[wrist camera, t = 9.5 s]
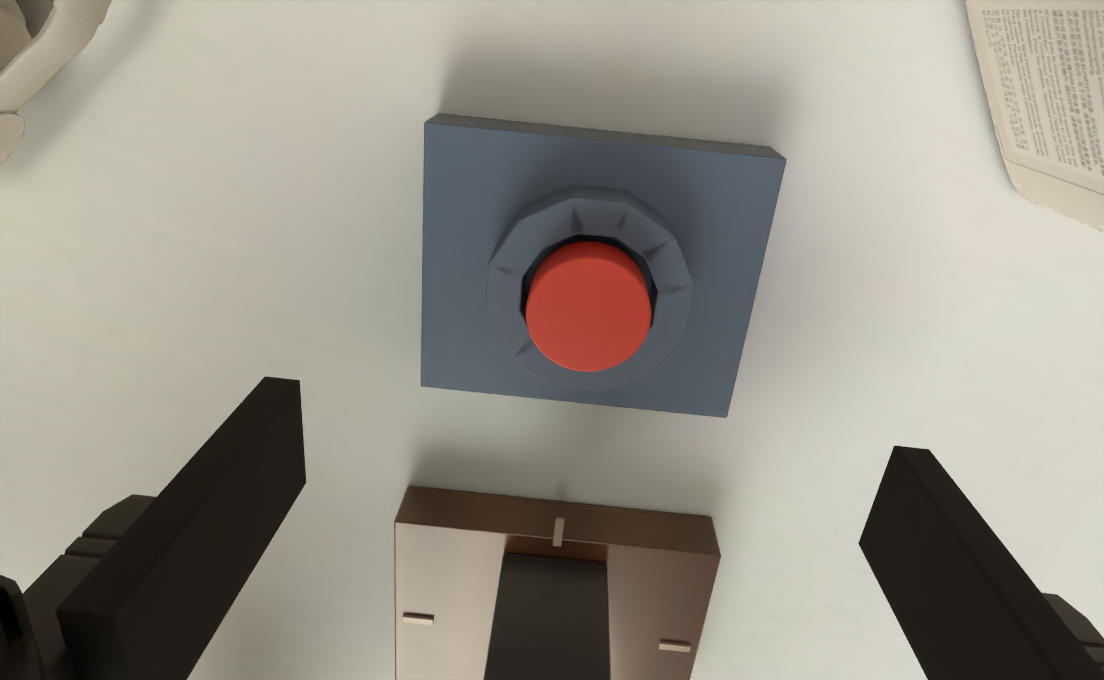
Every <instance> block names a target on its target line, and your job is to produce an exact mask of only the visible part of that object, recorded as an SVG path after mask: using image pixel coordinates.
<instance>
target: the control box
mask: <svg viewBox="0 0 1104 680" xmlns="http://www.w3.org/2000/svg"><path fill="white" fill-rule="evenodd" d="M785 164H786V158H784V157H783V156H782V155H780V154H779V153H777V152H776V151H775V150H773V149H772V148H770V147H762V146H752V145H743V144H733V143H723V142H713V141H703V140H693V139H684V138H674V137H664V136H654V135H644V134H634V133H625V132H615V131H605V130H595V129H585V128H575V127H565V126H556V125H546V124H536V123H526V122H516V121H506V120H497V119H487V118H477V117H467V116H457V115H447V114H436V115H435V116H433V117H432V118H430V119H429V120H427V121H426V122H425V123H424V183H423V260H422V337H421V386H422V387H432V388H441V389H451V390H461V391H470V392H480V393H490V394H500V395H509V396H519V397H529V398H538V399H548V400H558V401H567V402H577V403H587V404H596V405H606V406H616V407H626V408H635V409H645V410H655V411H664V412H674V413H684V414H693V415H703V416H713V417H722V418H727V415H728V411H729V406H730V402H731V398H732V393H733V389H734V385H735V380H736V376H737V372H738V367H739V363H740V359H741V354H742V350H743V346H744V341H745V337H746V333H747V328H748V324H749V320H750V315H751V311H752V307H753V303H754V298H755V294H756V290H757V285H758V281H759V277H760V272H761V268H762V264H763V259H764V255H765V251H766V246H767V242H768V238H769V233H770V229H771V225H772V220H773V216H774V212H775V207H776V203H777V199H778V194H779V190H780V186H781V181H782V177H783V173H784V168H785ZM581 241H597V242H603V243H606V244H609V245H612V246H614V247H616V248H618V249H620V250H622V251H623V252H625V253H626V254H627V255H628V256H630V257H631V258H632V259H633V260H634V261H635V263H636V264H637V265H638V267H639V268H640V270H641V272H642V274H643V276H644V279H645V282H646V286H647V291H648V295H649V300H650V305H651V323H650V327H649V331H648V333H647V336H646V338H645V340H644V341H643V343H642V345H641V346H640V347H639V349H638V350H637V351H636V352H635V353H634V354H633V355H632V356H631V357H629V358H628V359H627V360H625V361H624V362H622V363H620V364H619V365H616V366H614V367H612V368H609V369H605V370H601V371H592V372H584V371H576V370H572V369H568V368H565V367H563V366H560V365H558V364H557V363H555V362H553V361H552V360H550V359H549V358H548V357H546V356H545V355H544V354H543V353H542V352H541V351H540V350H539V349H538V347H537V346H536V345H535V343H534V341H533V340H532V338H531V336H530V333H529V331H528V327H527V322H526V306H527V300H528V295H529V291H530V286H531V282H532V279H533V276H534V274H535V272H536V270H537V269H538V267H539V265H540V264H541V263H542V262H543V261H544V259H545V258H547V257H548V256H549V255H550V254H551V253H553V252H554V251H556V250H557V249H559V248H561V247H563V246H565V245H568V244H571V243H575V242H581Z"/></svg>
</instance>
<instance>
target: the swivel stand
mask: <svg viewBox="0 0 1104 680" xmlns="http://www.w3.org/2000/svg"><path fill="white" fill-rule="evenodd" d="M394 539H395V680H483V679H484V673H485V666H486V660H487V654H488V647H489V641H490V634H491V628H492V622H493V615H494V609H495V603H496V596H497V590H498V584H499V577H500V571H501V565H502V558H503V554H504V553H512V554H522V555H531V556H541V557H550V558H560V559H570V560H579V561H589V562H599V563H606V564H607V574H608V602H609V631H610V660H611V680H690V677H691V673H692V669H693V665H694V661H695V657H696V653H697V649H698V645H699V641H700V637H701V633H702V629H703V625H704V621H705V617H706V613H707V609H708V605H709V601H710V597H711V593H712V589H713V585H714V581H715V577H716V573H717V569H718V565H719V561H720V557H721V554H720V549H719V545H718V541H717V537H716V533H715V529H714V525H713V521H712V518H711V517H701V516H691V515H682V514H672V513H662V512H653V511H643V510H634V509H624V508H614V507H605V506H595V505H585V504H576V503H566V502H556V501H547V500H537V499H527V498H518V497H508V496H499V495H489V494H479V493H470V492H460V491H450V490H441V489H431V488H421V487H412V486H408V487H407V490H406V492H405V495H404V498H403V500H402V503H401V506H400V508H399V511H398V513H397V516H396V519H395V521H394Z"/></svg>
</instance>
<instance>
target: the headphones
mask: <svg viewBox="0 0 1104 680" xmlns="http://www.w3.org/2000/svg"><path fill="white" fill-rule="evenodd" d="M110 3H111V0H53V8H52V10H51V12H50V14H49V16H48V18H47V20H46V21H45V23H44V25H43V27H42V29H41V30H40V32H39V33H38V34H37V35H36V36H35V37H34V38H33V39H32V38H31V36H30V34H29V32H28V30H27V28H26V19H25V17H24V15H23V13H22V12H21V10H20V8H19V6H18V4H17V2H16V1H15V0H0V164H1V163H2V162H3V161H4V160H5V159H6V158H7V157H8V156H9V155H10V153H11V152H12V151H13V150H14V149H15V148H16V146H17V145H18V143H19V141H20V139H21V137H22V136H23V134H24V126H25V123H24V121H23V120H22V119H21V117H20V116H19V115H18V114H17V113H16V112H17V111H18V110H19V109H20V108H21V107H22V106H23V105H24V104H25V103H26V102H27V101H28V100H29V99H30V98H31V97H32V96H33V95H34V94H35V93H36V92H37V91H38V90H40V89H41V88H42V87H43V86H44V85H45V84H46V83H47V82H48V81H49V80H50V79H51V78H52V77H53V76H54V75H55V74H56V73H57V72H58V71H59V70H60V69H61V68H62V67H63V66H64V65H65V64H66V63H67V62H68V61H70V60H71V59H72V58H74V57H75V56H76V55H77V54H79V53H80V52H81V51H82V50H83V49H84V48H85V47H86V46H87V44H88V43H89V42H90V40H91V39H92V37H93V36H94V34H95V32H96V30H97V27H98V25H99V24H102V23H103V20H104V18H105V15H106V13H107V10H108V8H109V5H110Z"/></svg>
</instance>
